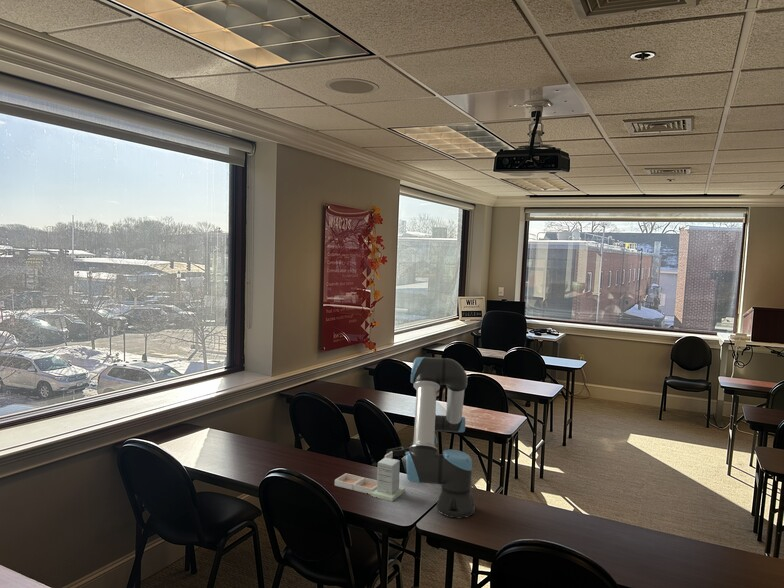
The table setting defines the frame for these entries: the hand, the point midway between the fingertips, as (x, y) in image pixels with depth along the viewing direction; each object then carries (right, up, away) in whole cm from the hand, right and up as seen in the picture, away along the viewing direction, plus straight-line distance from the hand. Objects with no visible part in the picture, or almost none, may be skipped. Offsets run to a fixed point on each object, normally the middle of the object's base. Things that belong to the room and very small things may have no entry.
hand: (398, 461), depth 244 cm
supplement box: (-5, -10, -8) cm, 14 cm away
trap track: (-13, -11, -4) cm, 17 cm away
